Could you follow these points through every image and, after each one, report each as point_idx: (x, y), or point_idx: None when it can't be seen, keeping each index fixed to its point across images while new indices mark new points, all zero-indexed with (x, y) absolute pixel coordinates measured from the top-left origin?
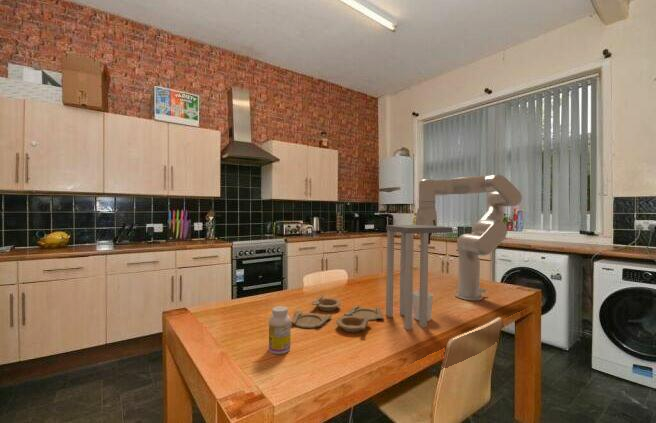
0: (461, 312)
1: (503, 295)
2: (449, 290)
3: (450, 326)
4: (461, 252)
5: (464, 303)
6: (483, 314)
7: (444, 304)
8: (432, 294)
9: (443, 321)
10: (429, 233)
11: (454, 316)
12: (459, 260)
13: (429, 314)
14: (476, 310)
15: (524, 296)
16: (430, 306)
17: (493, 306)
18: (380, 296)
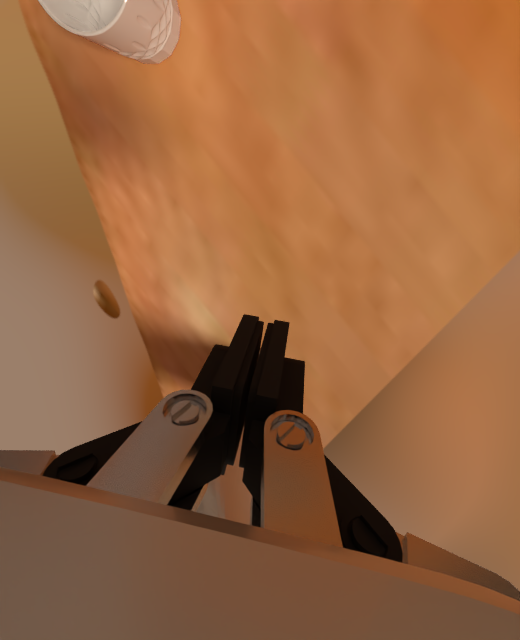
0: (152, 233)
1: None
2: (330, 396)
3: (55, 67)
4: (216, 513)
5: (212, 318)
6: (120, 277)
7: (232, 253)
8: (46, 9)
9: (98, 85)
10: (100, 444)
11: (129, 175)
12: (241, 472)
13: (101, 18)
14: (152, 291)
15: None
16: (73, 3)
17: (163, 360)
18: (483, 51)
